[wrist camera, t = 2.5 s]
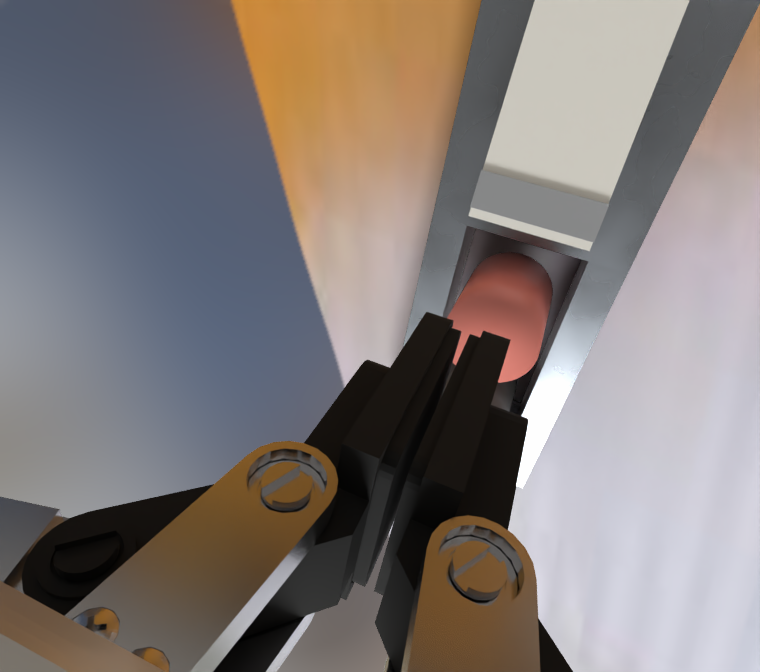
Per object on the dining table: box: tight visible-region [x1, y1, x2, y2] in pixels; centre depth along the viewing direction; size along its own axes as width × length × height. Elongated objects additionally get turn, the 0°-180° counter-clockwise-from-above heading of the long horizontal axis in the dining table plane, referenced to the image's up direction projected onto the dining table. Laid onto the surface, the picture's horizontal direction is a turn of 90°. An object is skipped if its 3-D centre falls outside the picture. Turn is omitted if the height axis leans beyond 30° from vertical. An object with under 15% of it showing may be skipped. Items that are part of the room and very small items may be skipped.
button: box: [447, 252, 553, 383], centre depth 21 cm, size 4×4×4 cm
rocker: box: [469, 0, 690, 251], centre depth 16 cm, size 7×4×2 cm, turn 172°
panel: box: [403, 0, 760, 488], centre depth 23 cm, size 22×8×4 cm, turn 172°
